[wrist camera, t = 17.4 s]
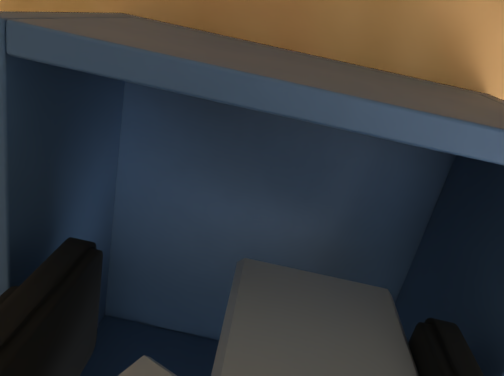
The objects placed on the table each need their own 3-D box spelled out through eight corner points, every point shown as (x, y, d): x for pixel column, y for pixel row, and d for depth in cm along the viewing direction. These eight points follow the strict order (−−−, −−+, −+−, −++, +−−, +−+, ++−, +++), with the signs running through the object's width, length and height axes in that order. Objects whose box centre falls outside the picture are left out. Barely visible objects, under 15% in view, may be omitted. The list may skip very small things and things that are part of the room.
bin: (98, 310, 18) (-8, 470, 12) (120, 12, 13) (-32, 10, 7) (372, 372, 18) (416, 567, 11) (488, 94, 13) (665, 165, 7)
